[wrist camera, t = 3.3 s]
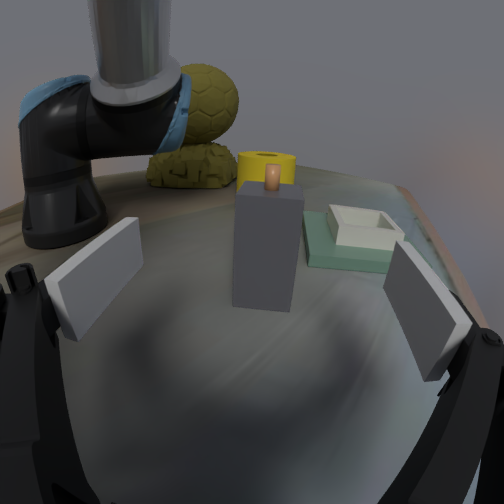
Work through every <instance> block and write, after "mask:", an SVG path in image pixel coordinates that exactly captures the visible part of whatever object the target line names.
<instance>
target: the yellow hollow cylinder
mask: <svg viewBox="0 0 504 504" xmlns="http://www.w3.org/2000/svg"><path fill="white" fill-rule="evenodd" d="M295 161H296V157H295V156H292V155H287V154H282V153H274V152H261V151H250V152H240V153H238V168H237V191H238V190H239V189H240V187H241V186H242V184H243V183H244V181H259V182H265V168H266V164H279V165H281V173H280V183H282V184H293V185H294V175H295V163H296V162H295Z"/></svg>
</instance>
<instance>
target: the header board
mask: <svg viewBox="0 0 504 504" xmlns="http://www.w3.org/2000/svg"><path fill="white" fill-rule="evenodd" d="M302 223H303V231H304V238H305V246H306V254H307V262H308V266H309V267H319V268H330V269H341V270H352V271H363V272H374V273H386V274H387V273H388V269H389V265H390V262H391V258H392V254H393V250H394V246H395V242H396V240H397V241H406V242H409V243H410V244H411V245H412V246H413V247H414V248H415V249H416V251H417V252H418V253H419V254H420V255H421V256H422V258H423V259H424V260H425V261H426V262H427V264H428V265H429V266H430V267H431V269H432V266H431V264H430V263H429V262H428V261H427V259H426V258H425V257H424V256H423V255H422V253H421V252H420V251H419V250H418V249H417V248H416V246H415V245H414V244H413V243H412V242H411V241H410V239H409V238H408V237H407V236H406V235H405V233H404V232H403V231H402V230H401V229H400V228H399V227H398V226H397V225H396V223H395V222H394V221H393V220H392V219H391V218H390V217H389V216H388V215H387V214H386V213H385V212H383V211H377V210H369V209H362V208H355V207H347V206H339V205H331V204H329V208H328V213H321V212H312V211H303V218H302Z"/></svg>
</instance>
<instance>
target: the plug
mask: <svg viewBox="0 0 504 504" xmlns="http://www.w3.org/2000/svg"><path fill="white" fill-rule="evenodd" d="M280 173H281V165H279V164H266V168H265V182H259V181H244V183H243V184H242V186H241V187H240V189H239V190H238V191H237V193H236V194H235V225H234V263H233V307H242V308H251V309H260V310H270V311H280V312H290V305H291V299H292V292H293V286H294V279H295V272H296V265H297V258H298V250H299V242H300V235H301V227H302V218H303V210H304V201H305V200H304V196H303V191H302V186H301V185H293V184H282V183H280Z"/></svg>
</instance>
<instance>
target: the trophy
mask: <svg viewBox="0 0 504 504" xmlns="http://www.w3.org/2000/svg"><path fill="white" fill-rule="evenodd" d="M180 68H181V73H184V74H188V75H189V76H190V77H191V98H190V105H189V111H188V120H187V126H186V132H185V136H184V140H183V143H182V145H181V146H180V147H179V148H178V149H177V150H176V151H173V152H166V153H158V154H156V155H153V157H151V158H149V159H150V160H149V166H148V168H147V173H146V178H147V182H151V186H159V187H171V188H222V187H224V186H225V185H227V184H228V183H230V182H231V181H232V180H233V178H236V177H237V168H238V163H237V162H236V161H235V157H233V155H232V154H231V153H230V151H229V150H228V149H227V147H226V146H221V145H220V144H217V143H214V142H213V143H212V142H211V141H213V140H215V139H217V138H218V137H220V136H221V135H222V134H223V133H225V132H226V131H227V130H228V129H229V128H230V127H231V126H232V124H233V122H234V120H235V118H236V114H237V111H238V103H239V97H238V91H237V89H236V87H235V85H234V83H233V81H232V80H231V79H230V78H229V77H228V76H227V75H226V73H224V72H223V71H221V70H219V69H218V68H216V67H213V66H210V65H206V64H190V65H185V66H182V67H180Z"/></svg>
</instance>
